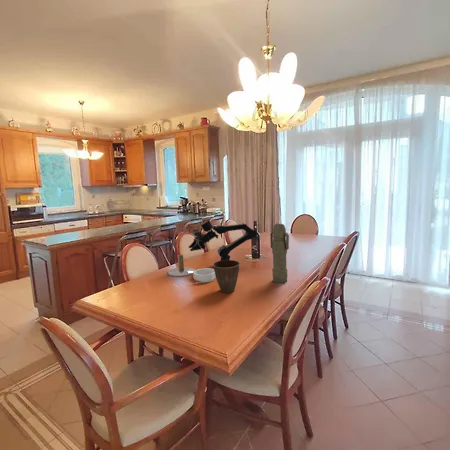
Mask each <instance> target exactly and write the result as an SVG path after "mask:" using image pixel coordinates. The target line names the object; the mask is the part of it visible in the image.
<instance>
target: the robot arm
mask: <svg viewBox="0 0 450 450" xmlns="http://www.w3.org/2000/svg"><path fill="white" fill-rule="evenodd" d="M200 226H201V228H202V230H203V231H204V232H205V233H202V232H201V231H198V230H195V231H194V232H193V235H194V236H195V237H194V238H193V241H192V242H191V244H190V245H188V249H189V251H190V252H193V251H199V250H204V249H206V245H205V244H207V243H209V242H210V241H211V240H213V239H214V238H216V240H217V239H219V235H222V234H225V233H227V232H233V231H240V230H243V231H244V234H242V236H240V237H239V238H237V239H236V240H234V241H232V242H231V243H229V244H228V245H225V244H223V245H222V246H220V247H218V250H217V254H218V256H219V257H220V260H219V261H222V260H231V256H230V255H229V254H230V253H231V251H232V250H234V249H236V248H237V247H239V246H240V245H242V244H243V243H245V242H247V241H249V240H253V239H255V238H257V236H258V232H257V230H255V229H252V228H251V227H249V226H248V225H247V224H246V223H243V222H242V223H237V224H229V225H225V224H217V225H212V223H211V222H210V220H206V221H203V222H201V224H200Z"/></svg>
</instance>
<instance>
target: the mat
mask: <svg viewBox="0 0 450 450" xmlns="http://www.w3.org/2000/svg"><path fill="white" fill-rule="evenodd" d="M193 269H194V271H195V270H196V269H195V268H193ZM166 275H167V276H168V277H174V278H182V277H189V276H192V275H193V273H192V274H190V275H186V276H171V275H169V274H168V271H167V272H166Z"/></svg>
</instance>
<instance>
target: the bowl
mask: <svg viewBox="0 0 450 450" xmlns="http://www.w3.org/2000/svg"><path fill="white" fill-rule="evenodd" d="M192 275H193V280H195V281H196V282H197V283H202V284H203V283H204V284H206V283H212V282H214V281H215V280H216V276H215V272H214V268H210V267H209V268H207V267H203V268H198V269H195V271H194V272H193V274H192Z"/></svg>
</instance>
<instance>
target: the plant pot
mask: <svg viewBox="0 0 450 450" xmlns="http://www.w3.org/2000/svg"><path fill="white" fill-rule="evenodd" d="M212 267H213V269H214V272H215V276H216V278H215V280H216V282H217V284H218V287H219V289H220V291H221V293H224V294H230V293H233V292H234V291H235V288H236V286H237V282H238V279H239V278H238V277H239V271H240V262H239V261H238V260H234V259H230V260H222V261H220V260H218V261H215V262H213V264H212Z"/></svg>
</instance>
